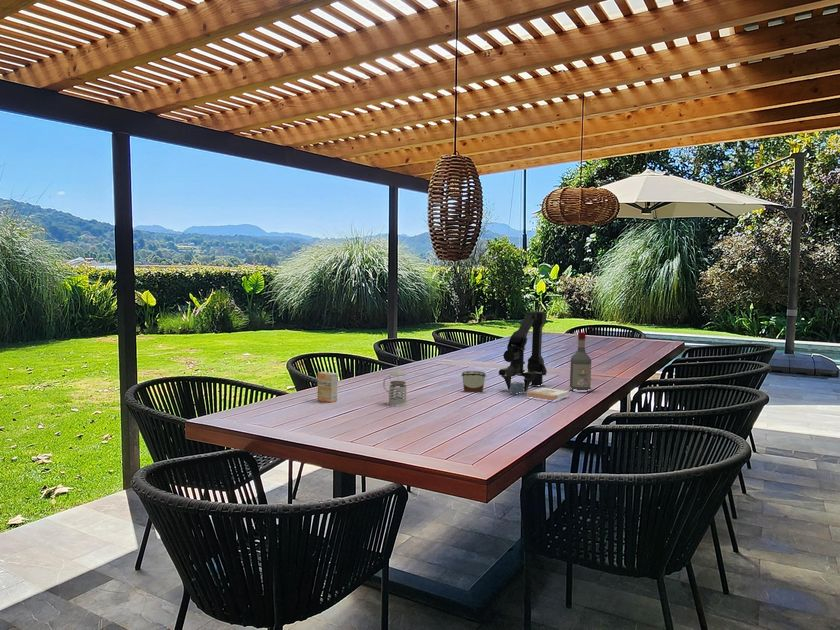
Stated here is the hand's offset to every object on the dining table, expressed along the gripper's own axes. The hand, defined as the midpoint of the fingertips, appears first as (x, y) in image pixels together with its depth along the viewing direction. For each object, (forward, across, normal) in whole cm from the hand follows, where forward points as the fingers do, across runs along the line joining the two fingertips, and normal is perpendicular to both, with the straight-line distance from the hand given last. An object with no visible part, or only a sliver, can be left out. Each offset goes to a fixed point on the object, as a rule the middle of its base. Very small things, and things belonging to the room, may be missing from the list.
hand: (516, 390), depth 294 cm
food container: (+1, -18, -12) cm, 22 cm away
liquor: (+1, +21, +27) cm, 34 cm away
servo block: (+1, 0, 0) cm, 1 cm away
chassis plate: (+1, +17, 0) cm, 17 cm away
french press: (+1, -28, -59) cm, 65 cm away
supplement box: (+1, -54, -77) cm, 94 cm away
